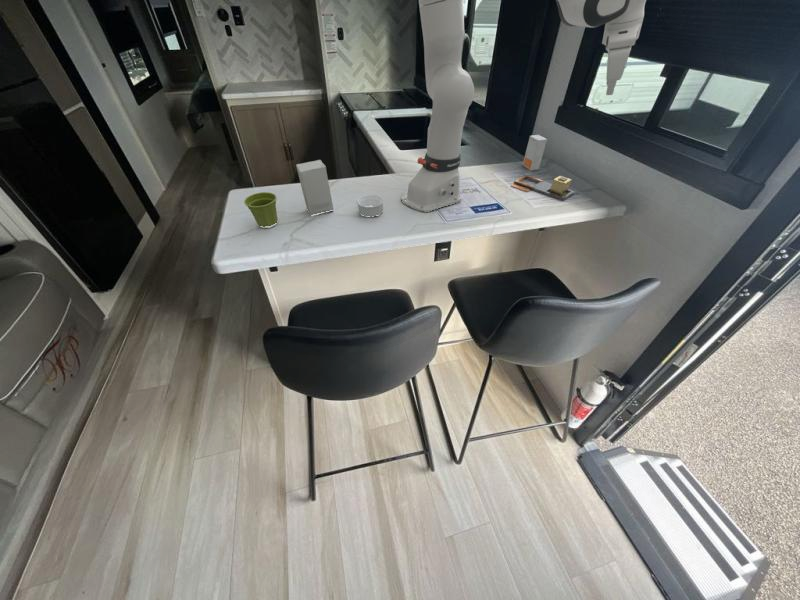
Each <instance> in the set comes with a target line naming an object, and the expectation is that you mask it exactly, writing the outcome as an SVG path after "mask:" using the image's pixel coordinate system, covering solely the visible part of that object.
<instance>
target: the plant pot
mask: <svg viewBox="0 0 800 600" xmlns="http://www.w3.org/2000/svg"><path fill="white" fill-rule="evenodd" d="M277 199H278V198H277V196H276V194H274V193H272V192H268V191H267V192H265V191H263V192H256V193H253V194H251V195H249V196H247V197H245V199H244V201H243V203H244V205H245V206H246V207H247V208H248V210H249V211H250V212H251V214H252V217H253V218H254V220H255V222H256V224H257V225H259V226H263V227H265V226H271V225H273V224H275V223H277V221H278V220H279V219H278V213H277V205H276V204H277ZM278 222H279V221H278ZM277 224H278V223H277ZM259 226H258V227H259Z"/></svg>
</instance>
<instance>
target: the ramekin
mask: <svg viewBox="0 0 800 600" xmlns="http://www.w3.org/2000/svg"><path fill="white" fill-rule="evenodd" d="M356 204H357V207H358V212H360V213H361V214H362V215H364V216H370V217H372V216H376V215H379V214H381V213H382V214H383V212H382V211H384V198H383V197H381V196H379V195H377V194H367V195H362V196H361V197H359V198H358V199H357V200H356ZM370 205H372V206H373V207H365V206H370ZM360 213H359V214H360ZM382 214H381V215H382ZM362 215H361V216H362ZM379 216H380V215H379Z"/></svg>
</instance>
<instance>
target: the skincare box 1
mask: <svg viewBox="0 0 800 600" xmlns="http://www.w3.org/2000/svg"><path fill="white" fill-rule="evenodd" d="M295 166H296V170H297V174H298V179H299V183H300V187H301V189H302V195H303V198H304V203H305V206H306V210H307V209H308V210H307V212H308V211H309V212H308V213H310V216H311V215H313V214H317V213H321V212H326V211H330V210H333V209H334V204H333V200H332V194H331V189H330V184H329V178H328V173H327V167H326V164H324V163H323V162H322V160H321V159H317V160H314V161H313V160H312V161H307V162H303V163H297V164H295Z"/></svg>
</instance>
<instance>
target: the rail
mask: <svg viewBox="0 0 800 600" xmlns="http://www.w3.org/2000/svg"><path fill="white" fill-rule="evenodd" d="M524 180H528V181H529V182H530V181H531V182H534V183H535V184H534V185H530V184H527V183H525V182H523V181H524ZM551 186H552V183H550V182H547V181H544V180H542V179H540V178H536V177H534V176H531V175H527V174H526V175H523V176H521V177H519V178H518V179H516V180H514V181H513V184H511V185H510V187H512V188H514V189H517V190H520V191H521V192H525V193H529V192H530V191H533V192H536V193H538V194H541V195H544V196H547V197H550V198H553V199H555V200H559V201H561V202H564V201H566V200H567V199H568V198H570V197H572V196H573V195H574V193H575V191H574V190H571V189H568V191H567V194H566V195H564V196H563V197H561V196H558V195H555V194H552V193H550V189H551Z"/></svg>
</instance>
